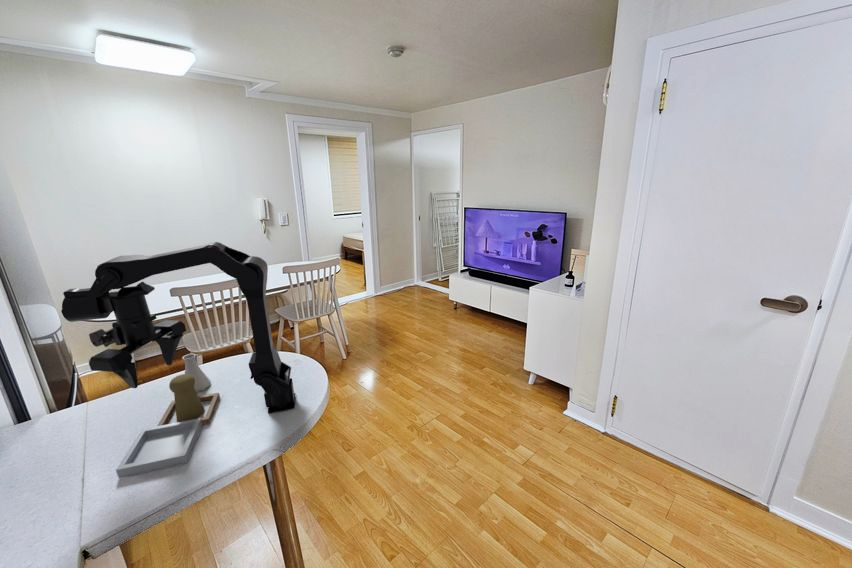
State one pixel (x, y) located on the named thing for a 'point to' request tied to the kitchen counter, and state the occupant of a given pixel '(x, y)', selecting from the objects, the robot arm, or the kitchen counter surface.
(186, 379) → the cork
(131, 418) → the kitchen counter surface
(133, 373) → the robot arm
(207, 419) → the wooden picture frame
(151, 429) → the tray
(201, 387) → the flask
